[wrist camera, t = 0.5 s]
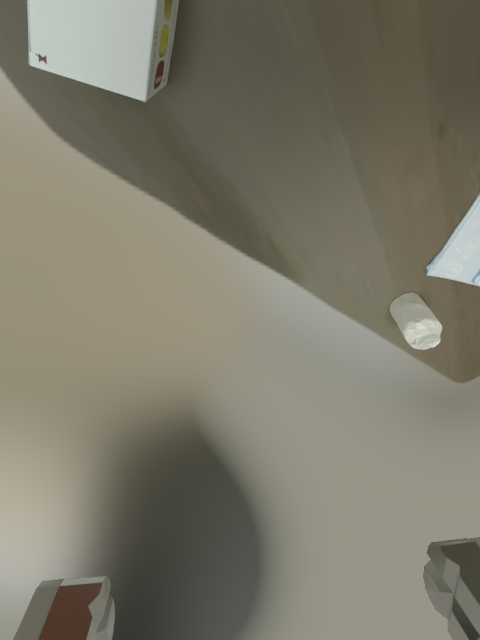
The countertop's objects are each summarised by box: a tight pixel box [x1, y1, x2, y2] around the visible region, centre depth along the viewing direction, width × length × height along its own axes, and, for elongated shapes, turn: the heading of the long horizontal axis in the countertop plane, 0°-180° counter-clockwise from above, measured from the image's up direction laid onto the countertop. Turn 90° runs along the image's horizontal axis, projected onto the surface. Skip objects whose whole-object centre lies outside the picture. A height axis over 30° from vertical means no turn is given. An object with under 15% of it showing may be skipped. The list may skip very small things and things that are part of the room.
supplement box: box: [27, 0, 179, 102], centre depth 32 cm, size 10×9×17 cm
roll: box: [389, 293, 442, 350], centre depth 61 cm, size 6×12×6 cm
